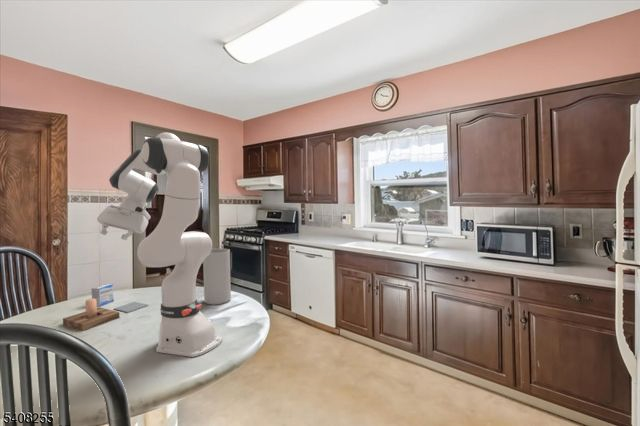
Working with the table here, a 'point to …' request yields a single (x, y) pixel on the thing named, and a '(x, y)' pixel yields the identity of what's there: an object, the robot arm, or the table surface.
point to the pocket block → (84, 324)
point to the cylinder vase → (217, 277)
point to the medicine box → (103, 294)
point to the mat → (130, 307)
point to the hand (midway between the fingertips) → (113, 236)
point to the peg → (91, 308)
